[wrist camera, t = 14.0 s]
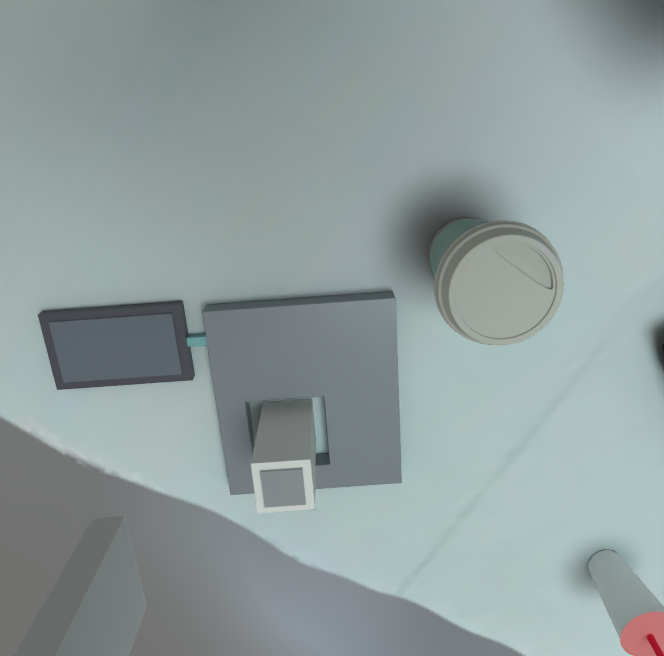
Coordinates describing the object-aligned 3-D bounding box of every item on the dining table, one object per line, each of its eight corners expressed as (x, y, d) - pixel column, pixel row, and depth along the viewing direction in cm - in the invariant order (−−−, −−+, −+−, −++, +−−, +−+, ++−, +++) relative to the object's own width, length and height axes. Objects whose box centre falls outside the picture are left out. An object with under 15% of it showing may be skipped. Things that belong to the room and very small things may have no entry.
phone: (43, 311, 49) (37, 315, 48) (275, 294, 49) (274, 298, 48) (61, 384, 52) (56, 390, 51) (283, 369, 52) (283, 374, 51)
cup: (579, 587, 61) (638, 693, 50) (577, 546, 59) (637, 647, 48) (630, 578, 61) (701, 683, 49) (629, 538, 59) (703, 637, 48)
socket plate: (206, 304, 50) (202, 312, 48) (392, 291, 49) (395, 298, 48) (233, 482, 56) (230, 494, 54) (398, 470, 56) (401, 482, 54)
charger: (262, 402, 53) (250, 465, 43) (311, 398, 53) (310, 461, 43) (268, 445, 54) (257, 515, 45) (315, 441, 54) (315, 511, 45)
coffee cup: (526, 277, 49) (587, 323, 38) (432, 315, 50) (465, 372, 39) (495, 183, 47) (551, 203, 35) (396, 225, 48) (420, 258, 36)
